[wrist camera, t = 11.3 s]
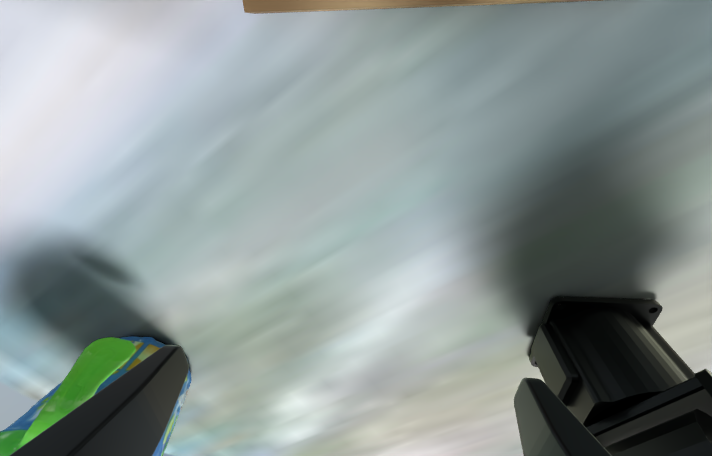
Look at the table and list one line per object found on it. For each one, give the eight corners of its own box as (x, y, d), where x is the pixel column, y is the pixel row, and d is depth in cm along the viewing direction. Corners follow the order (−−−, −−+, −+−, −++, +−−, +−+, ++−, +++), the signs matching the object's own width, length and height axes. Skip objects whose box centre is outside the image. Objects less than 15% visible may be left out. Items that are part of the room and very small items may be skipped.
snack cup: (91, 276, 24) (-77, 416, 15) (230, 327, 26) (149, 479, 17) (89, 387, 32) (-23, 521, 23) (196, 420, 33) (128, 558, 25)
